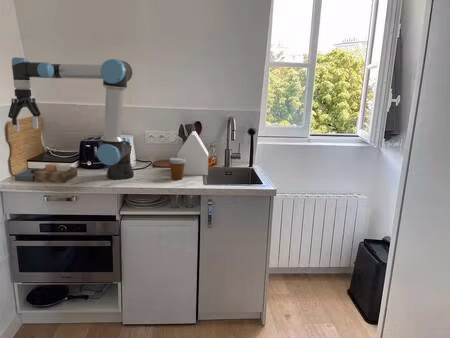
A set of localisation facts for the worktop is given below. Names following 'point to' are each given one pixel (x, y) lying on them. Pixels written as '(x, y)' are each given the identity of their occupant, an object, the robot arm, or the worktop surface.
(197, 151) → the white house model
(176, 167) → the disposable coffee cup
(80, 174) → the worktop surface
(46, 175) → the walnut board
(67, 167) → the cream tile
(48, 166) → the terracotta tile
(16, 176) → the tray
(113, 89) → the robot arm
